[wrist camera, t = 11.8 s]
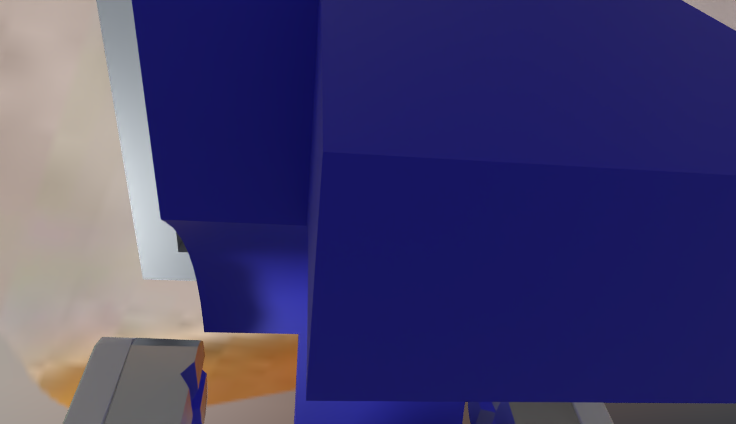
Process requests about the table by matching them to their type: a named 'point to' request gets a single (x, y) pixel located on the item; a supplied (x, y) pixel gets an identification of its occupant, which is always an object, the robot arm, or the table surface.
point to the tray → (139, 147)
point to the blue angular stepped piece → (455, 195)
